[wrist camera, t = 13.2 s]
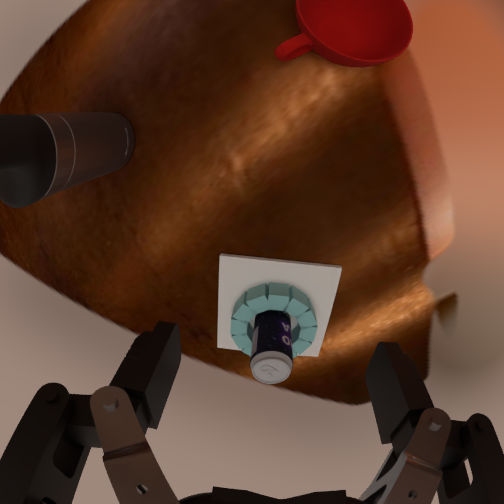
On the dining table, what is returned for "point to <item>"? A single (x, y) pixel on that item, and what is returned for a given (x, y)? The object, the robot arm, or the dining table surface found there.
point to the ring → (274, 299)
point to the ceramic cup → (350, 31)
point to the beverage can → (271, 347)
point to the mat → (264, 271)
